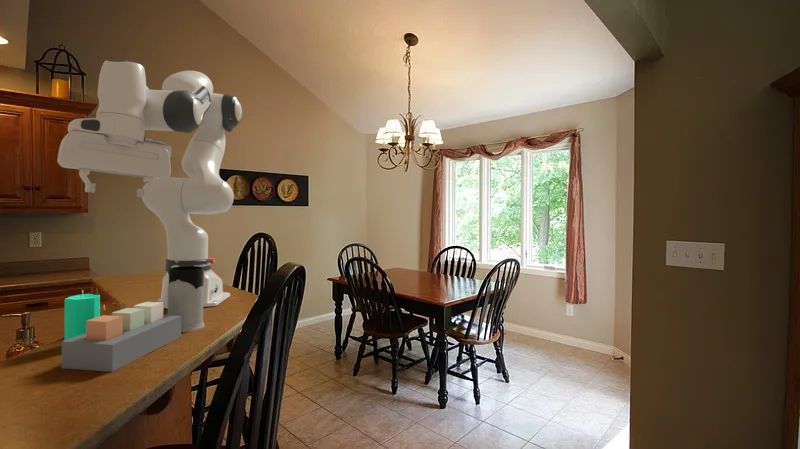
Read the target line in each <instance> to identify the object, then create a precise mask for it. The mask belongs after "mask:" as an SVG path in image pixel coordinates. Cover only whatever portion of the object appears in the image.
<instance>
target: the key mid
mask: <svg viewBox="0 0 800 449" xmlns="http://www.w3.org/2000/svg"><path fill="white" fill-rule="evenodd" d="M144 312H145V309H138V308H134V307H125V308H122V309H119V310H116V311H113V312H111V316H123V331H132V330H135V329H137V328H140V327H142V326H144Z"/></svg>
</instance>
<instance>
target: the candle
mask: <svg viewBox="0 0 800 449" xmlns="http://www.w3.org/2000/svg"><path fill="white" fill-rule="evenodd" d="M81 291H82V292H81V293H82V294H77V295H72V296H68V297H67V298H64V341H65V340H68V339H70V338H73V337H76V336H79V335H82V334H85V333H86V321H87V320H90V319H93V318H97V317H100V316H101V310H100V309H101V306H100V305H101V295H100V294H91V293H84V290H83V289H81Z"/></svg>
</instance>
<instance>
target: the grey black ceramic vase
mask: <svg viewBox="0 0 800 449" xmlns="http://www.w3.org/2000/svg"><path fill="white" fill-rule="evenodd" d="M203 287H204V270H203V267H198V266H181V267H173V268H170V269H169V285H168V309H167V315H172V316H181V332H183V333H190V332H195V331H198V330H202V329H203V328H205V322H204V307H203Z"/></svg>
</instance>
